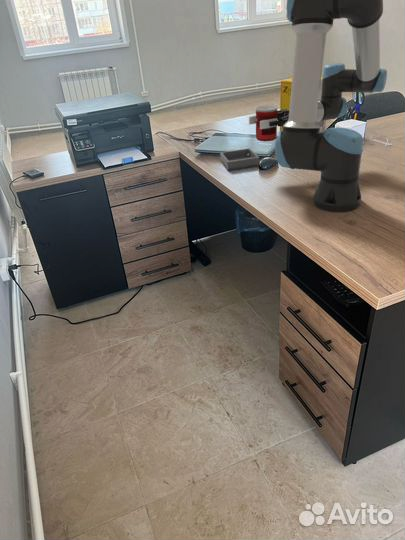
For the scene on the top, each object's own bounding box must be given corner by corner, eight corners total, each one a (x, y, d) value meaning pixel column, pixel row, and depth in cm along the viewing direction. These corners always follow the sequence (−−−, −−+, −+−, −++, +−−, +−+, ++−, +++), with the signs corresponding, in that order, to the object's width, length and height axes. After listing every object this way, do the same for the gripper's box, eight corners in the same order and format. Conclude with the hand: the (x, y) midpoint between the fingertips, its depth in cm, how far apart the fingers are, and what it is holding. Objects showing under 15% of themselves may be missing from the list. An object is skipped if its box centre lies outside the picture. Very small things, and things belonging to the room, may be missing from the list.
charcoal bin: (259, 166, 168) (259, 157, 166) (228, 171, 166) (227, 162, 164) (250, 157, 179) (249, 148, 177) (220, 161, 178) (220, 152, 175)
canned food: (264, 134, 155) (264, 104, 149) (281, 137, 150) (281, 106, 144) (251, 139, 151) (251, 109, 145) (268, 142, 146) (268, 111, 140)
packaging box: (305, 138, 194) (308, 83, 181) (279, 134, 205) (280, 81, 191) (325, 130, 203) (329, 77, 189) (299, 126, 213) (301, 75, 199)
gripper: (323, 128, 145) (268, 139, 140) (293, 118, 162) (242, 127, 156) (325, 107, 141) (268, 117, 135) (294, 98, 158) (242, 107, 152)
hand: (254, 122), depth 146 cm, fingers closed on canned food, 8 cm apart
